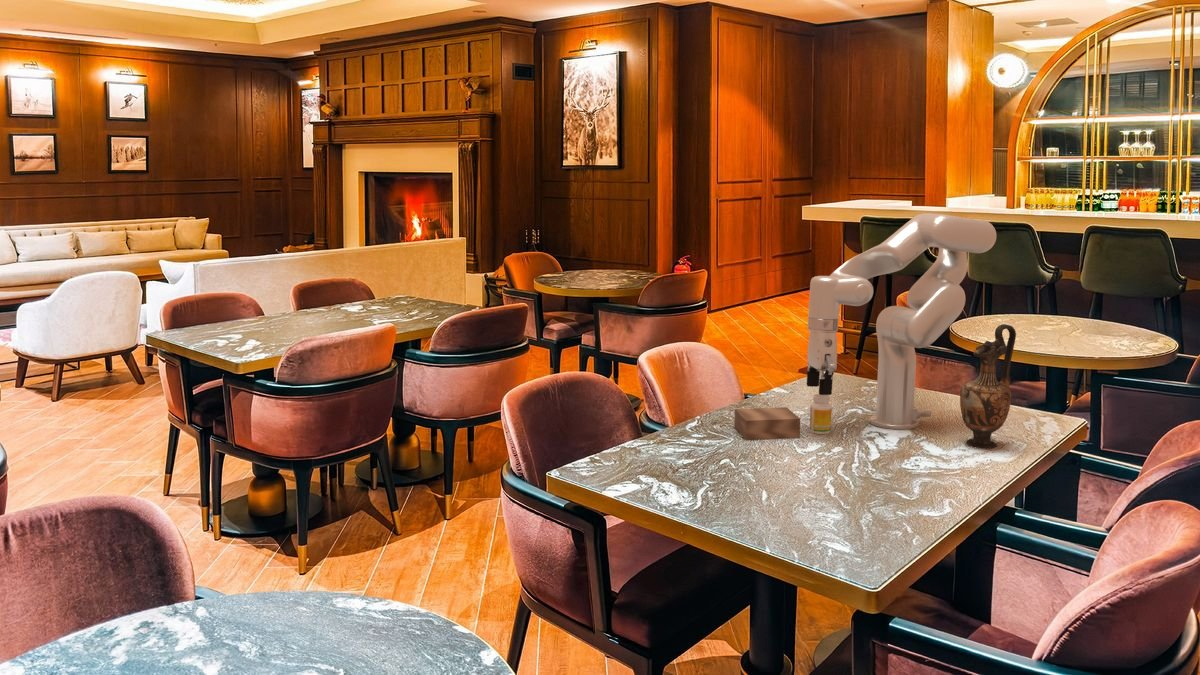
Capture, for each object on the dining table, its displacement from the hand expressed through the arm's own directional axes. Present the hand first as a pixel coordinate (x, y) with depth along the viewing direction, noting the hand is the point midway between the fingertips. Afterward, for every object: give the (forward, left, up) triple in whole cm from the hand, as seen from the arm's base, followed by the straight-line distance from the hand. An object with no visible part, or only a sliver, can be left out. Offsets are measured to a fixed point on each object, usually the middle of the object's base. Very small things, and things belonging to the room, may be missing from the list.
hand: (818, 390), depth 245 cm
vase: (-37, +16, -11) cm, 42 cm away
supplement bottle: (-1, 0, -11) cm, 11 cm away
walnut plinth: (+13, -1, -11) cm, 17 cm away
